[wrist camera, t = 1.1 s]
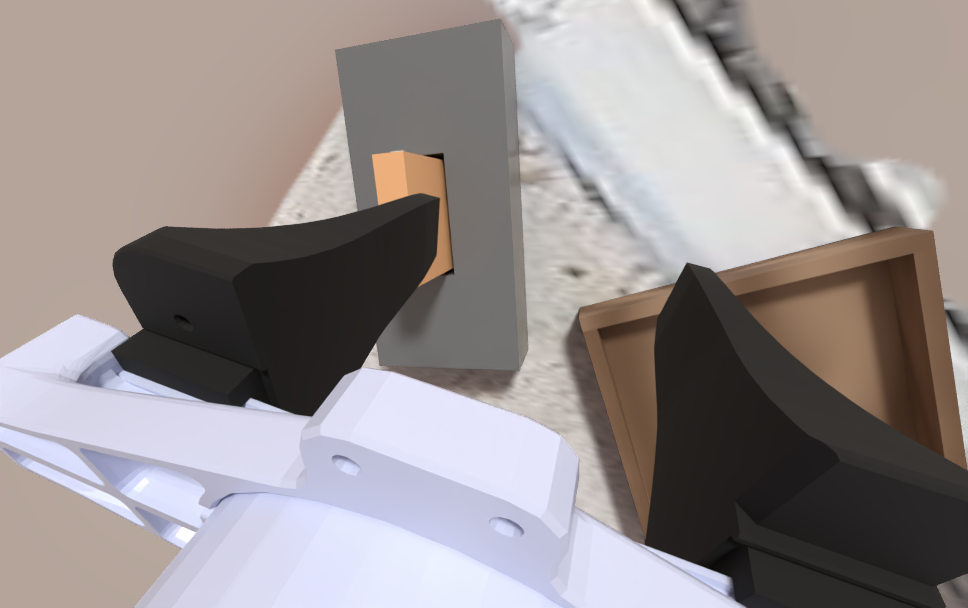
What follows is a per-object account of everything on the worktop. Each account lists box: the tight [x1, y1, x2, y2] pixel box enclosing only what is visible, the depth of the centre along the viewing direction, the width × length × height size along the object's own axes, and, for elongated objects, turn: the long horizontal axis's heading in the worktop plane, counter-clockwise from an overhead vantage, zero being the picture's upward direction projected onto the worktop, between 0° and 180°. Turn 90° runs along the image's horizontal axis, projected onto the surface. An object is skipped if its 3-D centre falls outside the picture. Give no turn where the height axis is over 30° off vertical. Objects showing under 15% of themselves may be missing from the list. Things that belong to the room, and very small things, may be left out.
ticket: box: [372, 151, 454, 287], centre depth 23 cm, size 6×2×8 cm, turn 4°
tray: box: [579, 227, 967, 539], centre depth 23 cm, size 16×16×2 cm
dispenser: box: [335, 19, 528, 371], centre depth 24 cm, size 18×9×4 cm, turn 4°
